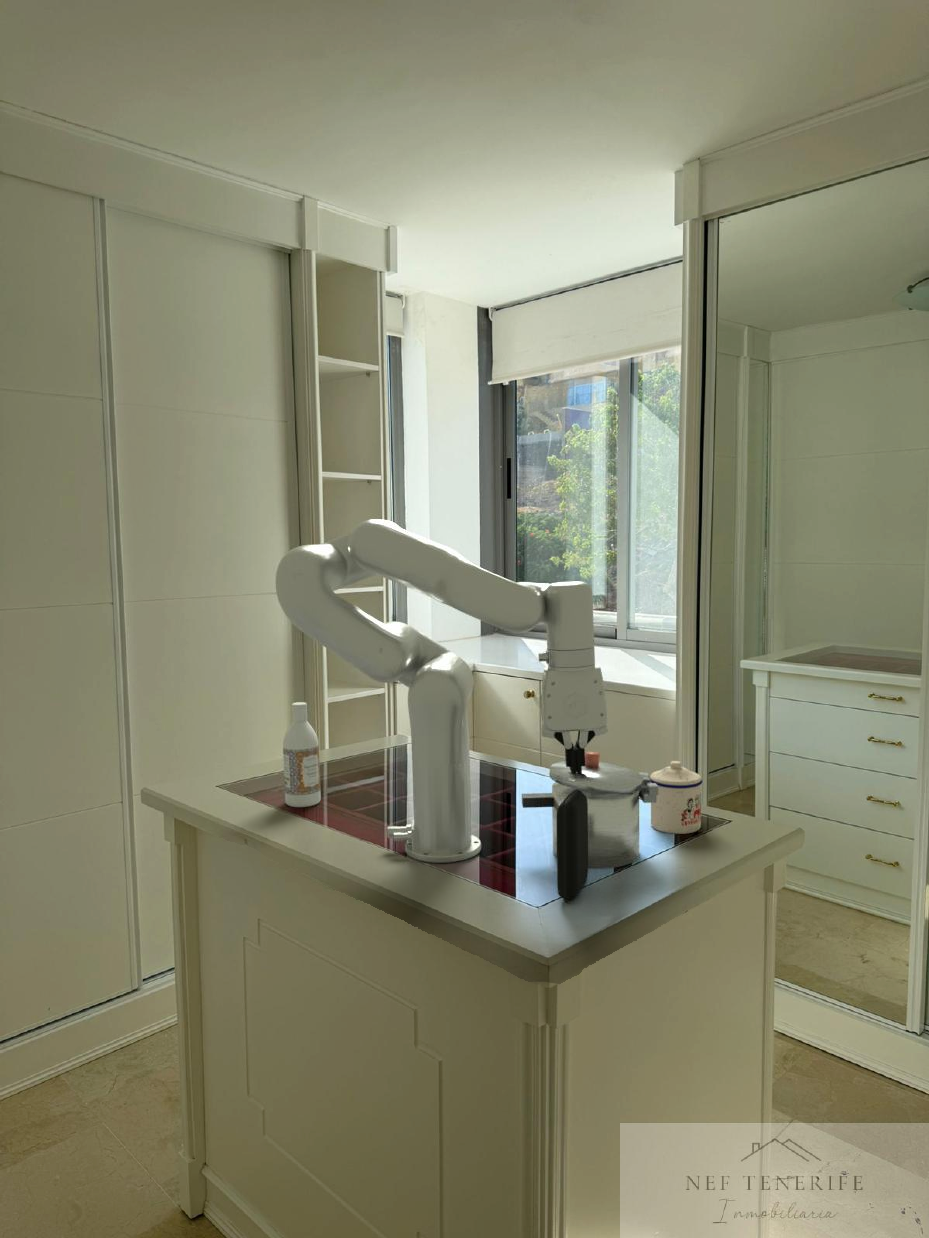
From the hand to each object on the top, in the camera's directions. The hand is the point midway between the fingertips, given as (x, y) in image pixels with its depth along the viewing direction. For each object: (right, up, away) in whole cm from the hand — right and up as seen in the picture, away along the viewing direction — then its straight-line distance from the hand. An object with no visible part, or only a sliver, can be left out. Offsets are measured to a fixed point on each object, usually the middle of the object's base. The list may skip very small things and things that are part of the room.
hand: (575, 770), depth 144 cm
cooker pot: (+2, -14, +1) cm, 14 cm away
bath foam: (-50, -12, +33) cm, 61 cm away
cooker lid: (+4, -2, 0) cm, 4 cm away
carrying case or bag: (-2, -16, -15) cm, 21 cm away
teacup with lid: (+20, -12, +15) cm, 28 cm away
